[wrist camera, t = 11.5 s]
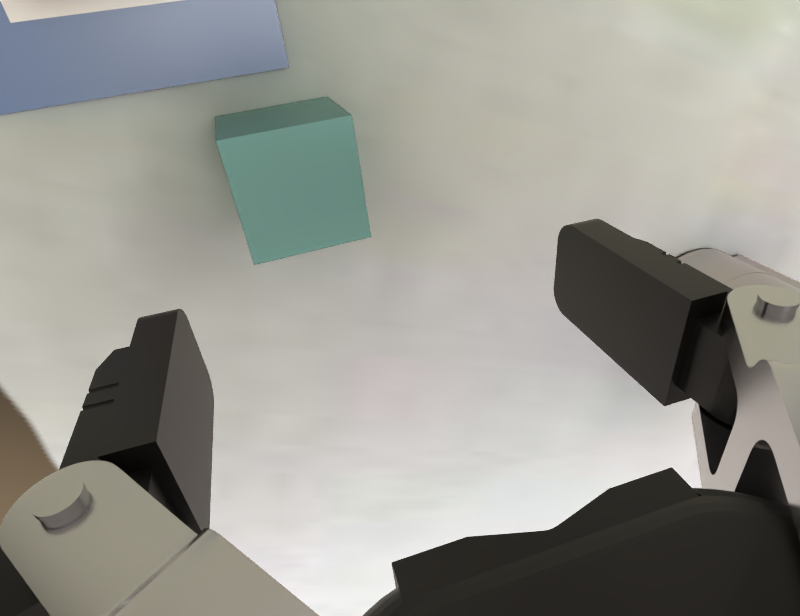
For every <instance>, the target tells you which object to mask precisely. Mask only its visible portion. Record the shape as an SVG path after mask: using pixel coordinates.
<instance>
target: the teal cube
mask: <svg viewBox="0 0 800 616" xmlns="http://www.w3.org/2000/svg"><path fill="white" fill-rule="evenodd" d="M215 131H216V143H217V147H218V150H219V153H220V156H221V159H222V163H223V166H224V169H225V172H226V176H227V179H228V182H229V185H230V188H231V192H232V195H233V198H234V201H235V205H236V208H237V211H238V214H239V217H240V221H241V224H242V227H243V230H244V234H245V237H246V240H247V243H248V246H249V250H250V253H251V256H252V259H253V263H254V265H256V264H260V263H265V262H269V261H273V260H277V259H281V258H285V257H289V256H294V255H298V254H302V253H306V252H310V251H314V250H318V249H322V248H327V247H331V246H335V245H339V244H343V243H347V242H351V241H356V240H360V239H364V238H368V237H371V232H370V226H369V220H368V213H367V207H366V201H365V195H364V188H363V182H362V176H361V170H360V163H359V157H358V151H357V145H356V139H355V132H354V126H353V120H352V115H351V114H350V113H348V112H347V111H346V110H344V109H343V108H342V107H340V106H339V105H338V104H336V103H335V102H334V101H332V100H331V99H330V98H328V97H321V98H316V99H310V100H305V101H299V102H293V103H288V104H282V105H277V106H271V107H266V108H260V109H254V110H249V111H243V112H238V113H232V114H227V115H221V116H216V117H215Z"/></svg>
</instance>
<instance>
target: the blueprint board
mask: <svg viewBox="0 0 800 616" xmlns="http://www.w3.org/2000/svg"><path fill="white" fill-rule="evenodd" d="M284 68H289V64H288V60H287V55H286V50H285V46H284V41H283V36H282V31H281V27H280V22H279V17H278V13H277V8H276V3H275V0H0V115H3V114H9V113H15V112H21V111H27V110H33V109H39V108H45V107H51V106H58V105H64V104H70V103H76V102H82V101H88V100H94V99H100V98H106V97H113V96H119V95H125V94H131V93H137V92H143V91H149V90H155V89H161V88H168V87H174V86H180V85H186V84H192V83H198V82H204V81H210V80H216V79H223V78H229V77H235V76H241V75H247V74H253V73H259V72H265V71H271V70H278V69H284Z"/></svg>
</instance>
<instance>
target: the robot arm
mask: <svg viewBox="0 0 800 616" xmlns="http://www.w3.org/2000/svg"><path fill="white" fill-rule="evenodd" d="M554 296H555V300H556V303H557V306H558V308H559V310H560V311H561V312H562V314H563V315H564V316H565V317H566V318H568V319H569V320H570V321H571V322H572V323H573V324H574V325H575V326H576V327H577V328H579V329H580V330H581V331H582V332H583V333H584V334H585V335H586V336H587V337H589V338H590V339H591V340H592V341H593V342H594V343H595V344H596V345H597V346H598V347H600V348H601V349H602V350H603V351H604V352H605V353H606V354H607V355H608V356H609V357H611V358H612V359H613V360H614V361H615V362H616V363H617V364H618V365H619V366H621V367H622V368H623V369H624V370H625V371H626V372H627V373H628V374H629V375H630V376H632V377H633V378H634V379H635V380H636V381H637V382H638V383H639V384H640V385H641V386H643V387H644V388H645V389H646V390H647V391H648V392H649V393H650V394H651V395H653V396H654V397H655V398H656V399H657V400H658V401H659V402H660V403H661V404H662V405H664V406H666V405H670V404H673V403H676V402H679V401H682V400H686V399H689V398H692V399H693V400H694V401H696V403H695V406H694V409H693V413H692V422H693V429H694V436H695V443H696V450H697V457H698V464H699V471H700V478H701V485H702V488H691V487H690V486H689V485H688V484H687V483H686V482H685V481H684V479H683V478H682V477H681V476H680V475H679V474H678V473H677V472H676V471H675V470H674V469H673V468H669V469H666V470H663V471H660V472H657V473H654V474H651V475H648V476H645V477H642V478H639V479H636V480H633V481H630V482H627V483H624V484H622V485H619V486H616V487H613V488H610V489H608V490H607V491H605V492H604V493H602V494H601V495H600V496H598V497H597V498H595V499H594V500H593V501H591V502H590V503H589V504H587V505H586V506H584V507H583V508H582V509H580V510H579V511H577V512H576V513H575V514H573V515H572V516H571V517H569V518H568V519H566V520H565V521H564V522H562V523H561V524H559V525H558V526H556V527H555V528H553V529H550V530H546V531H536V532H524V533H511V534H499V535H486V536H474V537H466V538H463V539H460V540H457V541H454V542H451V543H448V544H445V545H442V546H439V547H436V548H433V549H430V550H427V551H424V552H421V553H418V554H416V555H413V556H410V557H407V558H404V559H401V560H398V561H395V562H392V568H393V573H394V579H395V585H396V589H394V590H393V591H392V592H390V593H389V594H387V595H386V596H384V597H383V598H381V599H380V600H379V601H378V602H377V603H376V604H375V605H374V606H372V607H371V608H370V609H369V610H368V611H367V612H366V613H365V614H364V615H363V616H800V282H798V281H795V280H793V279H791V278H789V277H787V276H785V275H783V274H780V273H778V272H776V271H774V270H772V269H770V268H768V267H765V266H763V265H761V264H759V263H757V262H755V261H753V260H750V259H748V258H746V257H744V256H742V255H738V256H734V257H732V256H730V255H728V254H726V253H724V252H722V251H719V250H715V249H700V250H696V251H693V252H689V253H687V254H685V255H683V256H681V257H679V258H675V257H674V256H672V255H670V254H668V255H666V252H664V251H663V250H661V249H659V248H657V247H655V246H654V245H652V244H650V243H648V242H646V241H642V240H639V239H635V238H633V237H631V236H629V235H627V234H625V233H624V232H622V231H620V230H618V229H616V228H615V227H613V226H611V225H609V224H608V223H606V222H604V221H602V220H600V219H593V220H588V221H584V222H579V223H575V224H570V225H566V226H564V227H563V228H562V229H561V230H560V233H559V236H558V245H557V257H556V269H555V281H554ZM82 407H83V411H81V412H80V415H79V417H78V420H77V423H76V425H75V428H74V431H73V433H72V436H71V439H70V442H69V444H68V447H67V450H66V452H65V455H64V458H63V461H62V463H61V466H60V469H59V470H58V471H56V472H54V473H52V474H50V475H48V476H47V477H45V478H44V479H42V480H40V481H39V482H38V483H36V484H35V485H34V486H32V487H31V488H30V489H29V490H27V491H26V492H25V493H24V494H23V495H22V496H21V497H20V498H19V499H18V500H17V501H16V502H15V503H14V504H13V506H12V507H11V508H10V509H9V511H8V512H7V514H6V516H5V517H4V519H3V521H2V524H1V526H0V616H319V615H318V614H316V613H315V612H314V611H313V610H312V609H310V608H309V607H308V606H307V605H305V604H304V603H303V602H302V601H301V600H299V599H298V598H297V597H296V596H294V595H293V594H292V593H291V592H290V591H288V590H287V589H286V588H285V587H283V586H282V585H281V584H280V583H279V582H277V581H276V580H275V579H274V578H272V577H271V576H270V575H269V574H268V573H266V572H265V571H264V570H263V569H261V568H260V567H259V566H258V565H257V564H255V563H254V562H253V561H252V560H250V559H249V558H248V557H247V556H246V555H244V554H243V553H242V552H241V551H239V550H238V549H237V548H236V547H235V546H233V545H232V544H231V543H230V542H228V541H227V540H226V539H225V538H224V537H222V536H221V535H220V534H218V533H217V532H215V531H214V530H211V529H209V525H210V498H211V470H212V443H213V416H214V396H213V389H212V384H211V380H210V377H209V373H208V371H207V368H206V365H205V363H204V360H203V358H202V355H201V352H200V350H199V347H198V345H197V342H196V339H195V337H194V334H193V332H192V329H191V326H190V324H189V321H188V319H187V316H186V314H185V313H184V311H183V310H182V309H177V310H172V311H167V312H163V313H158V314H154V315H149V316H145V317H140V318H139V319H138V321H137V324H136V327H135V330H134V334H133V337H132V341H131V344H130V347H125V348H121V349H116V350H114V351H113V352H112V353H111V354H110V355H109V356H108V357H107V359H106V360H105V361H104V362H103V363H102V364H101V365H100V366H99V367H98V368H97V369H96V371H95V374H94V377H93V379H92V382H91V385H90V387H89V394H87V396H86V398H85V401H84V404H83V406H82Z"/></svg>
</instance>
